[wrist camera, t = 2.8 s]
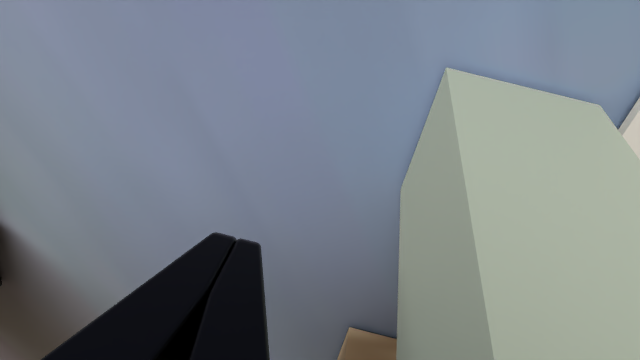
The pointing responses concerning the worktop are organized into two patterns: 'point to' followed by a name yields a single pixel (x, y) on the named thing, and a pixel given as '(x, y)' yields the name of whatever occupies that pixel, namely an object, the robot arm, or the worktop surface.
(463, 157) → the sage block
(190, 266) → the robot arm
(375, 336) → the oak block
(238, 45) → the worktop surface
